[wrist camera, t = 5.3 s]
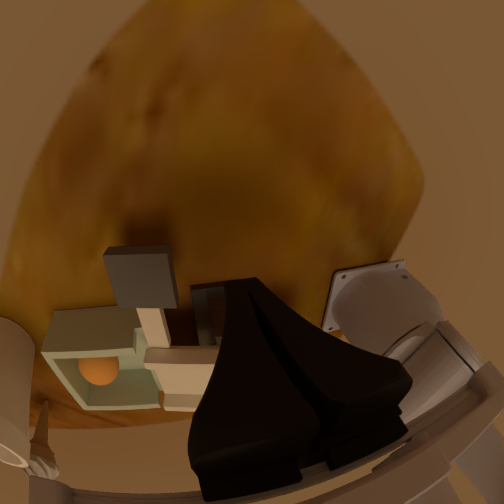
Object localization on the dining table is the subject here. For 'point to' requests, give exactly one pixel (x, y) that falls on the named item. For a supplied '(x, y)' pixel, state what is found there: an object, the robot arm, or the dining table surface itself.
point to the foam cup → (15, 392)
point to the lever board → (160, 321)
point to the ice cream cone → (42, 450)
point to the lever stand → (209, 312)
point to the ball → (99, 369)
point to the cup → (102, 345)
